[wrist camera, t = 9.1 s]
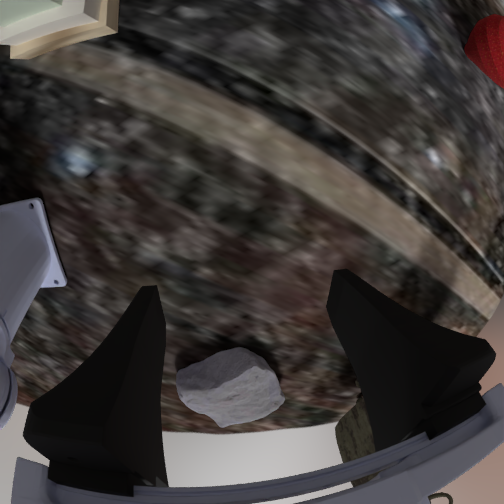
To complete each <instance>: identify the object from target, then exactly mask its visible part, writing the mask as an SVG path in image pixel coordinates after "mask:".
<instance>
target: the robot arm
mask: <svg viewBox="0 0 504 504" xmlns="http://www.w3.org/2000/svg"><path fill="white" fill-rule="evenodd" d="M31 203H32V204H33V205H34V207H32V206H31ZM56 280H57V281H58V282H57V281H56ZM66 283H67V279H66V276H65V273H64V271H63V268H62V265H61V262H60V259H59V256H58V253H57V250H56V247H55V244H54V241H53V238H52V234H51V231H50V227H49V224H48V220H47V217H46V213H45V209H44V205H43V202H42V200H41V199H40V198H32V199H27V200H22V201H18V202H13V203H8V204H4V205H0V430H1V429H2V428H3V427H4V426H5V425H6V424H7V422H8V421H9V419H10V418H11V416H12V413H13V411H14V407H15V404H16V400H17V392H18V387H17V380H16V377H15V375H14V373H13V371H12V370H11V369H10V366H11V364H12V361H13V359H14V357H15V355H14V354H13V352H12V350H11V349H10V344H11V342H12V340H13V337H14V335H15V333H16V331H17V329H18V327H19V325H20V323H21V321H22V319H23V317H24V315H25V314H26V312H27V310H28V308H29V306H30V304H31V302H32V301H33V299H34V297H35V295H36V294H37V292H38V290H39V288H40V287H62V286H65V285H66ZM326 308H327V311H328V314H329V317H330V320H331V323H332V326H333V328H334V330H335V332H336V334H337V336H338V338H339V340H340V342H341V344H342V346H343V348H344V350H345V352H346V355H347V357H348V359H349V361H350V363H351V365H352V367H353V369H354V371H355V374H356V376H357V379H358V382H359V385H360V388H361V391H362V395H363V398H364V401H365V405H366V408H367V412H368V416H369V421H370V425H371V429H372V435H373V440H374V446H375V453H373V454H370V455H367V456H364V457H361V458H358V459H355V460H352V461H349V462H346V463H342V464H339V465H336V466H332V467H328V468H324V469H321V470H317V471H313V472H309V473H304V474H299V475H295V476H290V477H285V478H279V479H274V480H268V481H261V482H254V483H247V484H237V485H226V486H212V487H175V488H174V487H169V486H168V480H167V473H166V467H165V459H164V450H163V441H162V426H161V403H160V398H161V384H162V374H163V365H164V356H165V347H166V322H165V318H164V314H163V310H162V305H161V301H160V297H159V292H158V288H157V285H154V286H142V287H141V288H140V290H139V291H138V293H137V294H136V296H135V297H134V299H133V300H132V302H131V303H130V305H129V306H128V308H127V309H126V311H125V312H124V314H123V315H122V317H121V318H120V320H119V321H118V322H117V324H116V325H115V326H114V328H113V329H112V330H111V332H110V333H109V334H108V336H107V337H106V338H105V339H104V341H103V342H102V343H101V344H100V345H99V347H98V348H97V349H96V350H95V351H94V352H93V353H92V354H91V356H90V357H89V358H88V359H87V360H85V361H84V362H83V363H82V364H81V365H80V366H79V367H78V368H77V369H76V370H75V371H74V372H73V373H72V374H70V375H69V376H68V377H67V378H66V379H64V380H63V381H62V382H61V383H59V384H58V385H57V386H55V387H54V388H53V389H51V390H50V391H48V392H47V393H45V394H44V395H42V396H41V397H39V398H38V399H36V400H35V401H33V402H31V405H30V408H29V411H28V415H27V419H26V423H25V427H24V431H23V437H24V439H25V440H26V442H27V443H28V444H29V445H30V446H31V447H33V448H34V449H35V450H37V451H38V452H39V453H41V454H42V455H43V456H45V457H46V458H48V459H49V460H50V463H49V467H47V466H45V465H43V464H40V463H37V462H33V461H30V460H27V459H23V458H20V457H18V458H17V461H16V467H15V473H14V481H13V488H12V498H11V504H252V503H259V502H265V501H272V500H278V499H283V498H288V497H293V496H298V495H302V494H306V493H311V492H315V491H319V490H323V489H326V488H330V487H334V486H337V485H340V484H343V483H347V482H350V481H353V480H356V479H359V478H362V477H365V476H367V475H370V474H373V473H375V472H378V471H381V470H383V469H385V470H383V471H381V472H379V473H378V475H377V476H376V477H374V478H373V479H372V480H370V481H368V482H367V483H365V484H362V485H359V486H356V487H353V488H350V489H346V490H343V491H340V492H337V493H333V494H330V495H326V496H322V497H319V498H315V499H311V500H307V501H303V502H299V503H295V504H430V501H429V499H428V496H429V495H431V494H433V493H434V492H436V491H438V490H439V489H441V488H442V487H444V486H446V485H447V484H449V483H450V482H452V481H453V480H455V479H456V478H458V477H459V476H461V475H462V474H464V473H465V472H466V471H468V470H469V469H471V468H472V467H473V466H475V465H476V464H477V463H479V462H480V461H481V460H482V459H484V458H485V457H486V456H487V455H489V454H490V453H491V452H492V451H493V450H495V449H496V448H497V447H498V446H499V445H500V444H502V443H503V442H504V387H503V385H502V384H501V383H499V384H498V385H496V386H495V387H493V388H492V389H490V390H489V391H487V392H486V393H485V394H484V395H483V396H481V395H480V393H479V391H480V390H481V385H480V384H479V381H480V380H481V378H482V377H483V376H484V374H485V373H486V372H487V371H488V369H489V368H490V367H491V365H492V364H493V362H494V360H495V357H496V353H495V351H494V350H493V348H492V347H491V346H490V344H489V343H488V342H487V341H486V340H485V339H481V338H477V337H473V336H469V335H465V334H462V333H459V332H456V331H453V330H450V329H447V328H445V327H442V326H440V325H438V324H435V323H433V322H431V321H428V320H426V319H424V318H422V317H420V316H419V315H417V314H415V313H413V312H411V311H409V310H408V309H406V308H404V307H402V306H401V305H399V304H398V303H396V302H395V301H393V300H391V299H390V298H388V297H387V296H385V295H384V294H382V293H381V292H380V291H378V290H377V289H375V288H374V287H372V286H371V285H370V284H368V283H367V282H365V281H364V280H363V279H361V278H360V277H358V276H357V275H355V274H354V273H352V272H351V271H349V270H348V269H341V270H334V272H333V277H332V282H331V287H330V292H329V296H328V301H327V305H326ZM390 466H391V467H390ZM388 467H389V468H388ZM386 468H387V469H386Z"/></svg>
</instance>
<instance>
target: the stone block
mask: <svg viewBox="0 0 504 504" xmlns="http://www.w3.org/2000/svg"><path fill="white" fill-rule="evenodd" d="M176 385H177V392H178V394H179V398H180V399H181V400H182V402H184V403H185V405H186V406H187V407H189V408H190V409H192V410H194V411H195V412H198V413H199V414H206V415H208V416H209V417H210V418H212V419H214V421H215V422H216V423H217V424H218V426H220V427H226V426H228V425H231V424H240V423H244V422H251V421H253V420H257V419H259V418H262V417H265V416H267V415H268V414H270V413H271V412H273V411H274V410H277V409H278V408H279V406H280V405H282V404H283V402H284V400H285V398H284V394H283V392H282V391H281V388H280V384H279V381H278V378H277V377H276V374H275V372H274V371H273V370H272V369H271V368H270V367H269V365H268V364H267V363H266V361H265V359H264V358H262V357H261V356H258V355H256V354H255V353H253V352H251V351H249V350H248V349H245V348H243V347H237V348H233V349H230V350H225V351H221V352H218V353H216V354H214V355H212V356H210V357H208V358H206V359H205V360H204V361H201V362H198V363H195V364H191V365H190V366H188V367H186V368H184V369H180V370H179V371H178V373H177V380H176Z"/></svg>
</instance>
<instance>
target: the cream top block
mask: <svg viewBox="0 0 504 504" xmlns="http://www.w3.org/2000/svg"><path fill="white" fill-rule="evenodd" d="M100 6H101V0H63V2H62V6H59V7H56V8H52V9H49V10H46V11H43V12H40V13H37V14H35V15H32V16H29V17H27V18H24V19H21V20H19V21H16V22H14V23H12V24H9V25H7V26H5V27H2V26H0V44H1V45H14V46H17V45H20V44H22V43H25V42H28V41H30V40H33V39H36V38H39V37H42V36H45V35H48V34H51V33H55V32H58V31H62V30H65V29H69V28H73V27H77V26H81V25H85V24H89V23H94V22H99V14H100Z"/></svg>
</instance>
